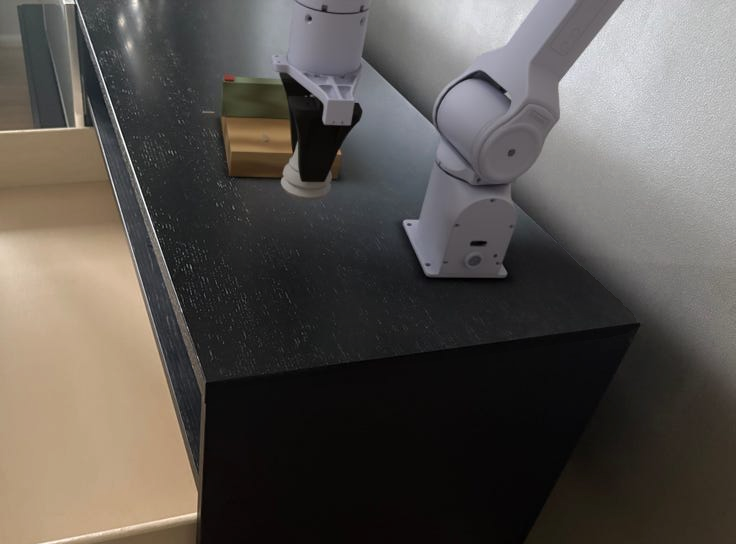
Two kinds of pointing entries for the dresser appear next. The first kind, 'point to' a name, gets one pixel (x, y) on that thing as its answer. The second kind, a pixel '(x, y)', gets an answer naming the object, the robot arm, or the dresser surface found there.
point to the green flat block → (253, 98)
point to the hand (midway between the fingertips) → (308, 168)
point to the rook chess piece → (303, 189)
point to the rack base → (260, 146)
